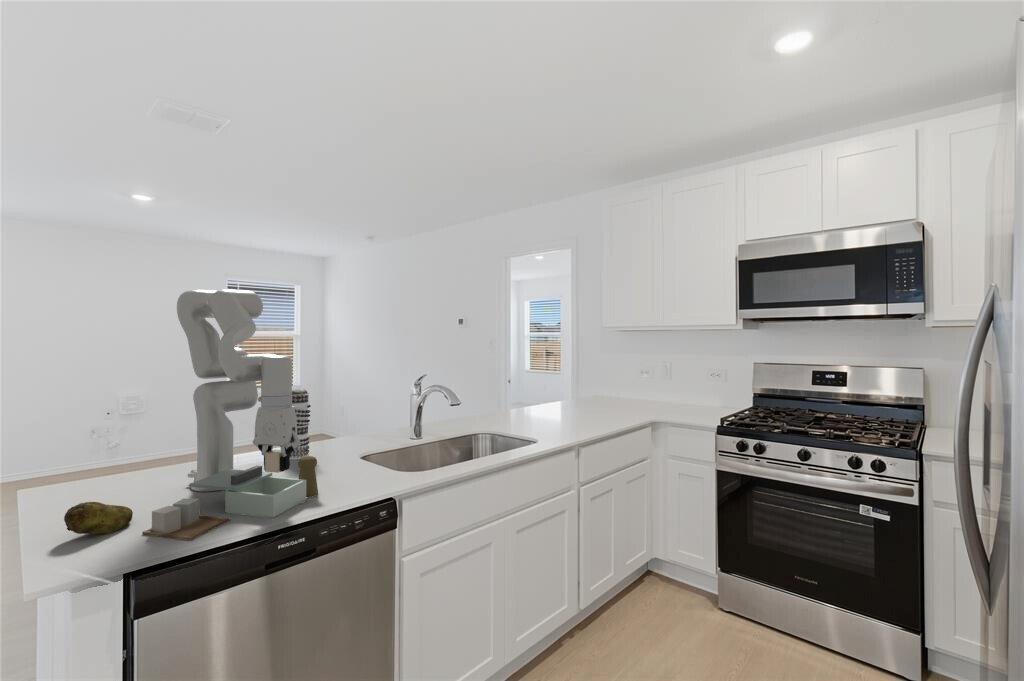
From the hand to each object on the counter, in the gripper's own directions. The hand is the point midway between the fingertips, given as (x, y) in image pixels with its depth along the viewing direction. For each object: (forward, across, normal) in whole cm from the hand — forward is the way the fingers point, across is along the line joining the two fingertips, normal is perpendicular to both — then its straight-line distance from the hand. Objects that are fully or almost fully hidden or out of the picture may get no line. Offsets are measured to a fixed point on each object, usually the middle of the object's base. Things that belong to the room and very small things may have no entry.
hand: (276, 469), depth 134 cm
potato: (+11, -29, -24) cm, 39 cm away
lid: (+4, -14, 0) cm, 14 cm away
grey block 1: (+10, -15, -20) cm, 27 cm away
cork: (+11, +1, +12) cm, 16 cm away
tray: (+11, -12, -17) cm, 23 cm away
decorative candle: (+10, -27, +48) cm, 56 cm away
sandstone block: (0, 0, 0) cm, 0 cm away
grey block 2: (+10, -15, -14) cm, 23 cm away
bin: (+11, -3, 0) cm, 11 cm away
